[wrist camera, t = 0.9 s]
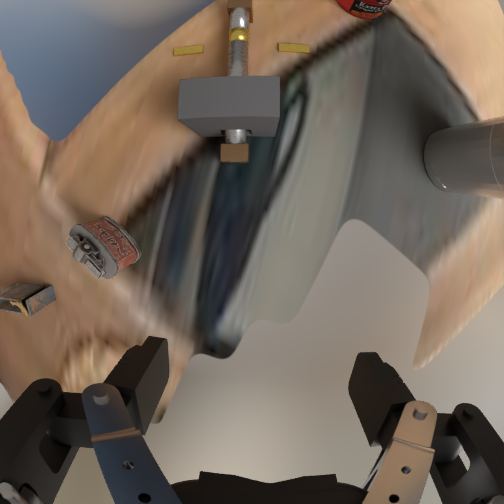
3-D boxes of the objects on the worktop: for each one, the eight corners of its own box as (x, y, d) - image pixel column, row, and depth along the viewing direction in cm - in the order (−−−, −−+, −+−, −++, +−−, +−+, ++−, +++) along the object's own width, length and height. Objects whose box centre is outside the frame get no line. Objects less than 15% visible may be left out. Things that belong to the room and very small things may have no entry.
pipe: (310, 166, 34) (316, 164, 30) (167, 165, 35) (156, 163, 30) (306, 15, 29) (310, -1, 25) (179, 18, 29) (171, 4, 25)
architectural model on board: (53, 281, 40) (17, 302, 30) (57, 298, 40) (23, 321, 31) (16, 280, 40) (-17, 297, 31) (20, 295, 41) (-12, 313, 31)
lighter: (95, 228, 37) (53, 243, 27) (107, 211, 36) (65, 221, 26) (132, 267, 38) (96, 292, 28) (145, 250, 37) (111, 272, 28)
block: (274, 136, 33) (279, 117, 23) (201, 137, 33) (177, 119, 23) (275, 106, 32) (279, 76, 22) (202, 107, 32) (179, 79, 22)
